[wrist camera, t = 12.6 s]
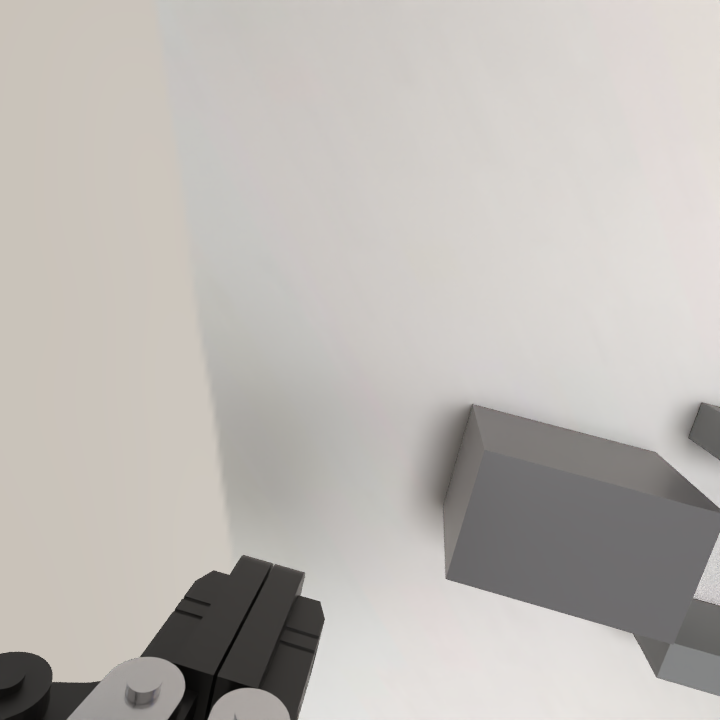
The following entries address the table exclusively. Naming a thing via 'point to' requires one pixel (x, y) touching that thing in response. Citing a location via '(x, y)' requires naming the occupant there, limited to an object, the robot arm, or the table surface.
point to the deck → (693, 606)
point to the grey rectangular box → (576, 524)
